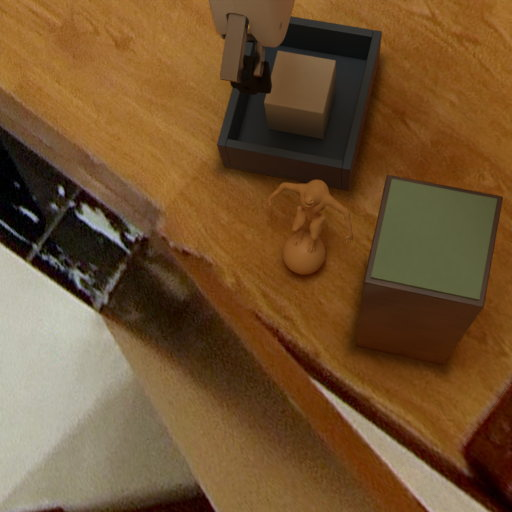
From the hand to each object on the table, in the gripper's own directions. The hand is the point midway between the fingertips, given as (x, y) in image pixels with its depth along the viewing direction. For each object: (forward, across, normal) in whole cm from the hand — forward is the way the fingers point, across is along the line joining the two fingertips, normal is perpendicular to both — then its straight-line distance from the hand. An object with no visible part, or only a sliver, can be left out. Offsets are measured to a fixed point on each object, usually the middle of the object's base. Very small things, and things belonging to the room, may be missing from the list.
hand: (265, 34), depth 69 cm
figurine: (+18, -12, -6) cm, 22 cm away
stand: (+18, -16, -16) cm, 28 cm away
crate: (+18, +2, -2) cm, 18 cm away
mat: (-4, -16, -16) cm, 23 cm away
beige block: (+17, +2, -2) cm, 17 cm away
